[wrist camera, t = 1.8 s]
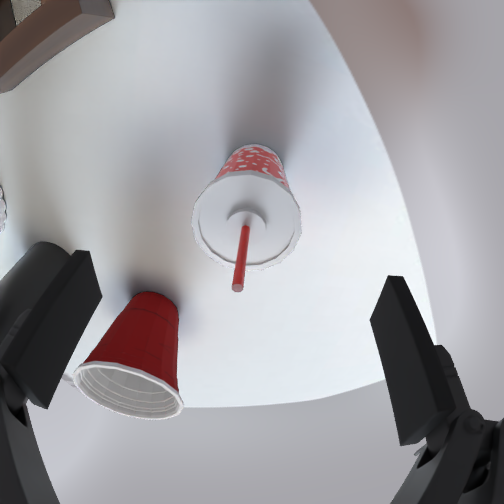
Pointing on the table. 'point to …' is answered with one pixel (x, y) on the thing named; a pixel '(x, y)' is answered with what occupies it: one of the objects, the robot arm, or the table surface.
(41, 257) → the water bottle
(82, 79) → the table surface
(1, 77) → the holder
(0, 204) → the mooncake
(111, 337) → the plastic cup
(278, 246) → the beverage cup
